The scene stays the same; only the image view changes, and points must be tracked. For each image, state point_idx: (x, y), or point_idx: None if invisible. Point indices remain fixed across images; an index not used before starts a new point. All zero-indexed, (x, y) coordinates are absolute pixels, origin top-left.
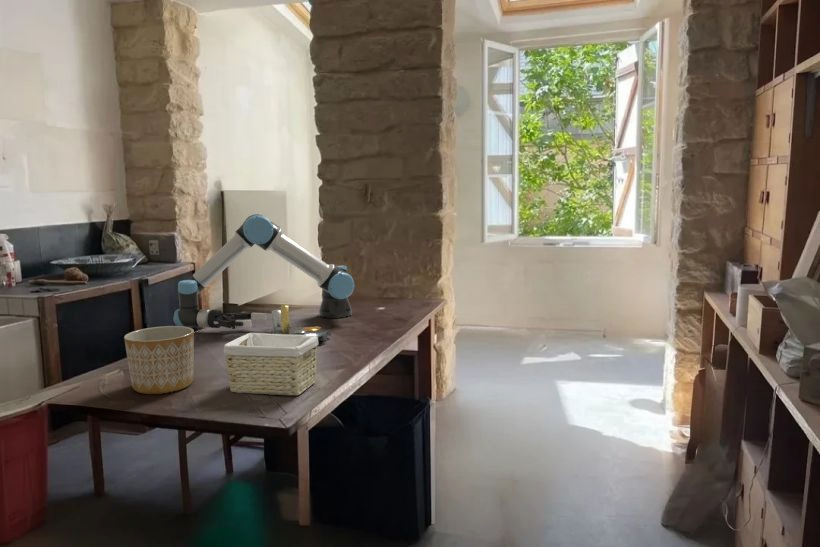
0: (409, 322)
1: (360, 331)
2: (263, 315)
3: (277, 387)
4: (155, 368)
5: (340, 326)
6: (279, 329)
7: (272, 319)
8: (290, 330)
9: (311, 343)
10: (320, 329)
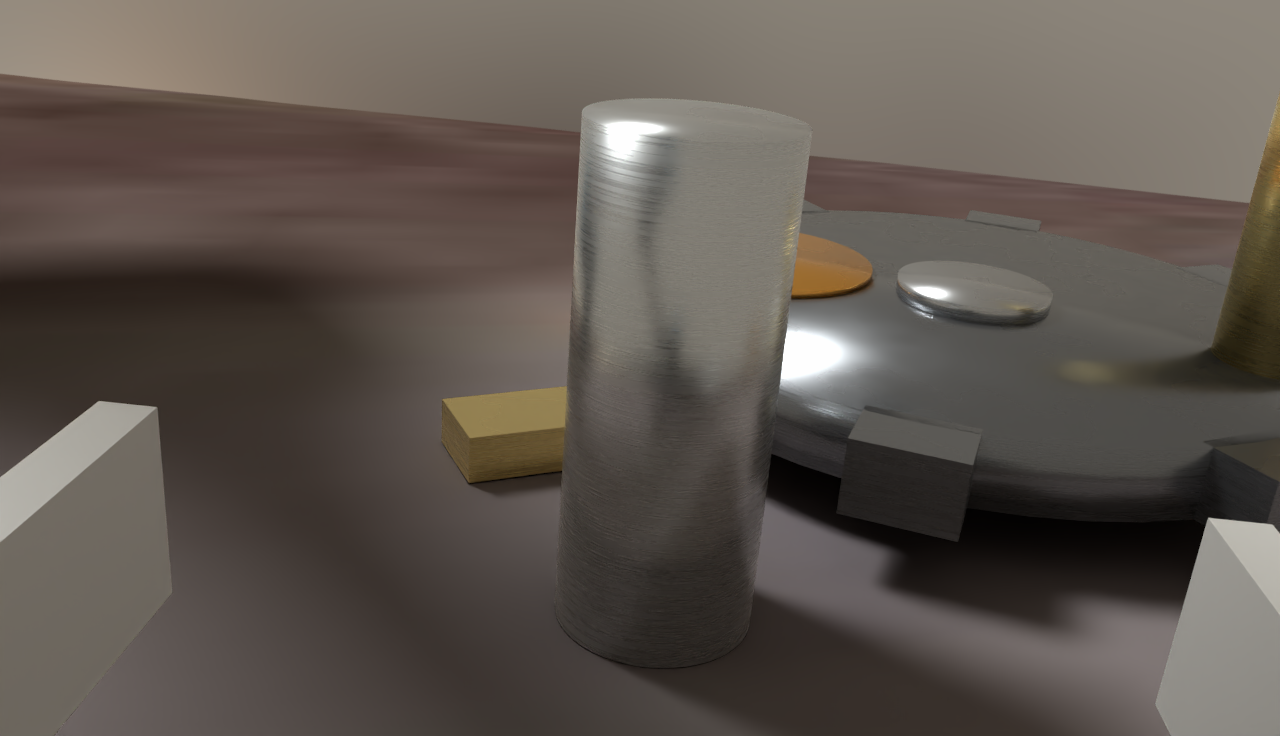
0: (203, 103)
1: (470, 199)
2: (123, 494)
3: None
4: None
5: (200, 250)
6: (858, 434)
7: (757, 336)
8: (882, 354)
9: None
10: None
